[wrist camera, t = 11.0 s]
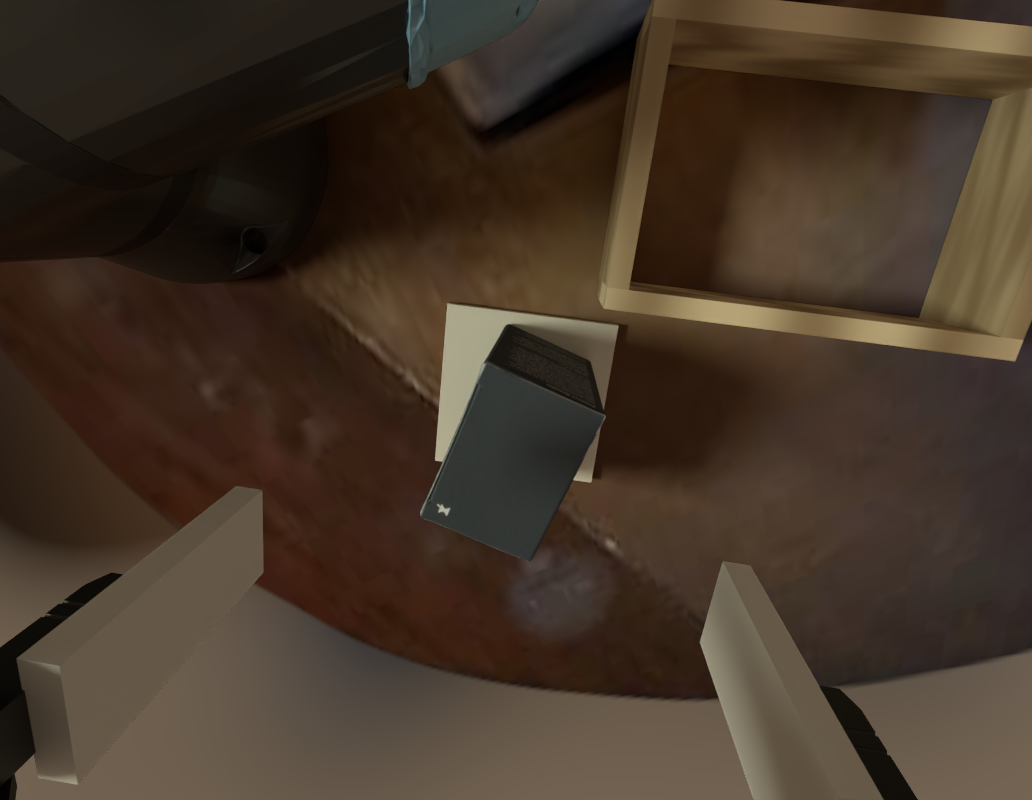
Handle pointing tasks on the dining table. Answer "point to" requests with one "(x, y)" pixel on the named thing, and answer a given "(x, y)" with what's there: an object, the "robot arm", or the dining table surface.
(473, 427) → the box
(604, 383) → the plate
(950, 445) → the dining table surface
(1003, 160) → the crate
